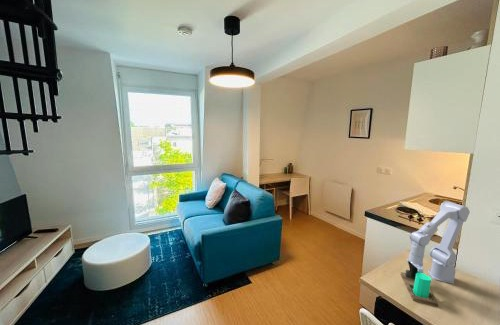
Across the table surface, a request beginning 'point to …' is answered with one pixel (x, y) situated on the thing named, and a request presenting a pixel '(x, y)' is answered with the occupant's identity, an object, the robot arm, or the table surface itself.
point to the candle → (422, 285)
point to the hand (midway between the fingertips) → (413, 275)
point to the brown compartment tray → (409, 283)
